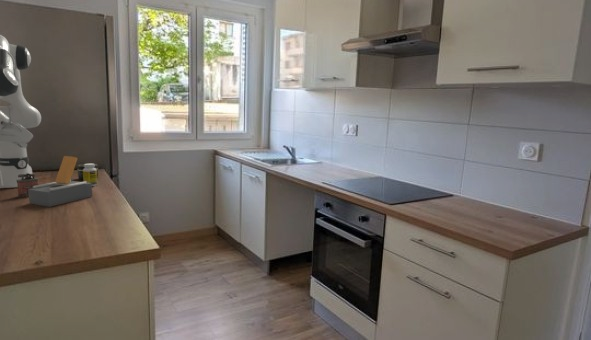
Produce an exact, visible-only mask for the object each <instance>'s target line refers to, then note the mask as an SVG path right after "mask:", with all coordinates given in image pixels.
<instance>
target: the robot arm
mask: <svg viewBox="0 0 591 340" xmlns="http://www.w3.org/2000/svg"><path fill="white" fill-rule="evenodd" d="M31 62H32V57H31V53H30V50H29V49H28V48H27V47H25V46H23V45H19V44H17V45H16V44H12V43H9V41H8V39H7V38H6V37H5V36H4V35H2V34H0V100H2V101H5V102H7V103H8V104H9V105H0V189H5V188H6V189H9V188H10V189H11V188H18V186H17V181H16V180H18V179H22V177H18V175H19V174H26V173H29V174H33V169H32V166H31V165H29V163H30V161H29V160H30V159H29V156H28V152H27V151H28V150H27V147H28V143H29V142H30V141H32V139H33V138H34V135H33V133H32V132H30V131H29V130H28V129H32V128H36V127H38V126H39V125H40V124H41V122H42V114H41V113H40V111H39V110H38V109H37V107H34V106H32V105H31V104H30V103H29V102H28V101H27V100H26V98H25V96H24V93H23V89H22V79H21V71H23V70H26V69H28V68H29V67H30V64H31ZM31 177H32V176H31ZM24 179H25V177H24Z"/></svg>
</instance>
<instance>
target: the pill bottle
mask: <svg viewBox="0 0 591 340" xmlns="http://www.w3.org/2000/svg"><path fill="white" fill-rule="evenodd" d="M83 164H84V167H85V168H84V169H83V180H82V182H85V181H86V182H87V183H91V184H92V187H96V186H97V185H98V178H97V170H96V168H94V167H95V164H96V163H91V162H90V163H89V162H88V163H83Z"/></svg>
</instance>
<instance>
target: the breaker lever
mask: <svg viewBox="0 0 591 340" xmlns="http://www.w3.org/2000/svg"><path fill="white" fill-rule="evenodd" d="M77 162H78V157H76V156H71V155H68V156H67V155H63V158H62V161H61V163H60V166H59V170H58V172H57V175H56V178H55V181H54V182H56V183H61V184H68V185H69V182H70V180H72V179H71V178H72V176H73V173H74V172H75V167H76V165H77Z"/></svg>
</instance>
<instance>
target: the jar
mask: <svg viewBox="0 0 591 340" xmlns="http://www.w3.org/2000/svg"><path fill="white" fill-rule="evenodd" d="M84 164H85V163H83V164H82V163H81V164H78V165H77V166H76V167H77V177H78V179H79V180H80V181H83V169H84V168H85V167H84ZM94 164H95V167H94V168H96V170H97V179H98V177H99V165H98V164H96V163H94Z"/></svg>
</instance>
